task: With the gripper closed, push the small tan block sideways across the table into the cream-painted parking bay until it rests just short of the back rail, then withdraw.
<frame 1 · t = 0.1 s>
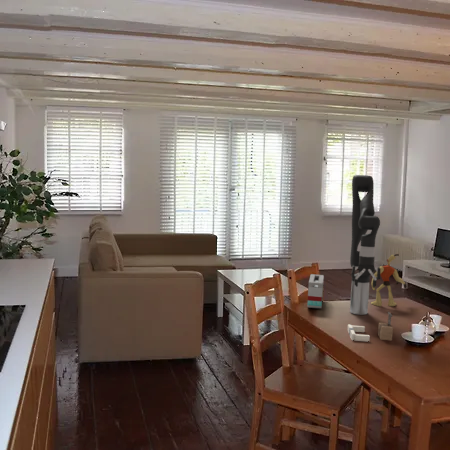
hand: (365, 286, 274), 17 cm above the table, tool pointing down, fingers open, 8 cm apart
toy: (388, 304, 310), on the table
tan block: (384, 337, 249), on the table
parking bay: (358, 335, 250), on the table
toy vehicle: (315, 303, 307), on the table
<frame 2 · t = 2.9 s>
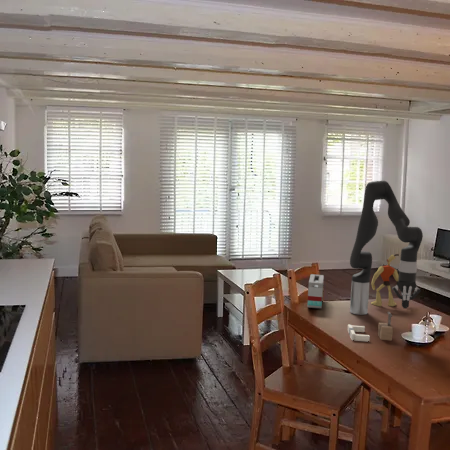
hand: (404, 308, 246), 15 cm above the table, tool pointing down, fingers closed
nothing on the table moved.
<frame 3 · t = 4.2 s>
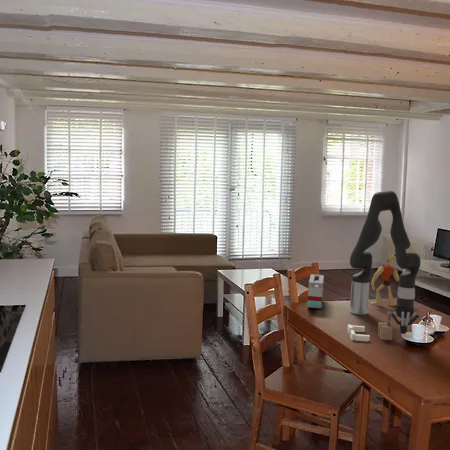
hand: (403, 333, 248), 3 cm above the table, tool pointing down, fingers closed
nothing on the table moved.
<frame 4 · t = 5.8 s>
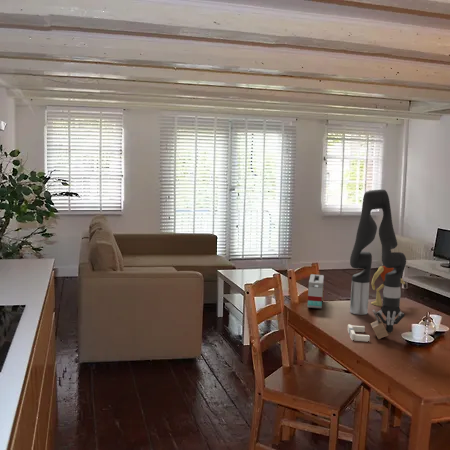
hand: (389, 332, 248), 3 cm above the table, tool pointing down, fingers closed
tan block: (382, 334, 248), point 1 cm above the table, tilted 30°, touching gripper, hand
everything else where it was.
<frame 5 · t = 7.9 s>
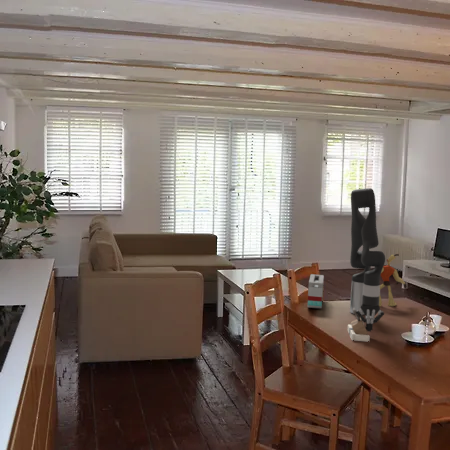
hand: (368, 330, 249), 3 cm above the table, tool pointing down, fingers closed
tan block: (362, 333, 249), point 1 cm above the table, tilted 30°, touching gripper, hand, parking bay
everything else where it was.
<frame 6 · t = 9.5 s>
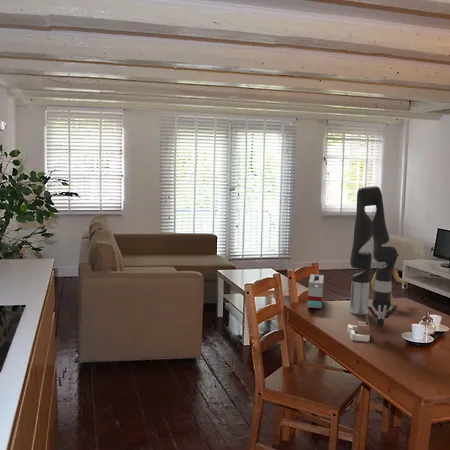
hand: (379, 326, 249), 5 cm above the table, tool pointing down, fingers closed
tan block: (362, 336, 250), on the table
everything else where it was.
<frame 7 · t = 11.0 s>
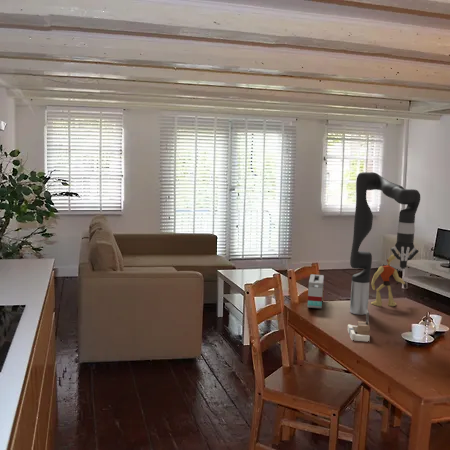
hand: (402, 268, 254), 31 cm above the table, tool pointing down, fingers closed
nothing on the table moved.
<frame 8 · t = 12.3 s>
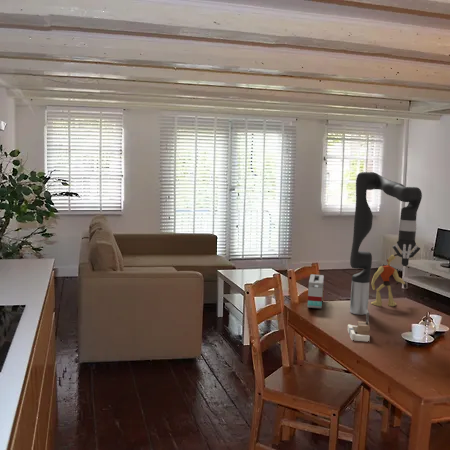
hand: (404, 265, 255), 32 cm above the table, tool pointing down, fingers closed
nothing on the table moved.
at the end: tan block inside the target area (1.8 cm from its centre), on the table; tan block tilted 0° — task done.
